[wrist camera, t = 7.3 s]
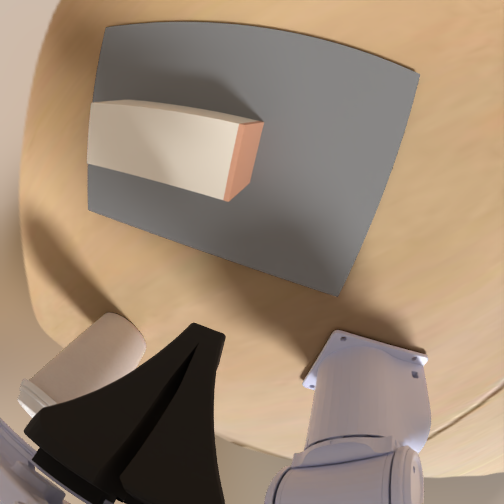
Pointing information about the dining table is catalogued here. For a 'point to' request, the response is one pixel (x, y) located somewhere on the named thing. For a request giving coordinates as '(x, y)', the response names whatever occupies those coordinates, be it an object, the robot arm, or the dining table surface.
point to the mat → (263, 142)
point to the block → (175, 145)
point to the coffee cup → (85, 364)
